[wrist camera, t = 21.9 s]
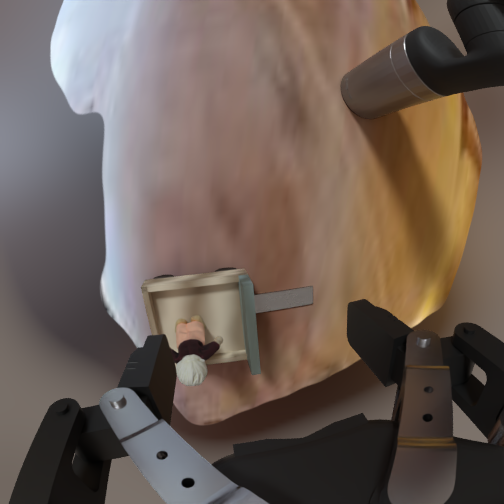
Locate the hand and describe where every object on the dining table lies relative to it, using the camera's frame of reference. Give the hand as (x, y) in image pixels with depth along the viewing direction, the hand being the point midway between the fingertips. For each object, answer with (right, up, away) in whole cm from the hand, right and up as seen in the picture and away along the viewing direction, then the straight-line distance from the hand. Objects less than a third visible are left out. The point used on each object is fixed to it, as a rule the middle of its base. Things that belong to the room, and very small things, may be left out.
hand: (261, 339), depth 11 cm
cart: (-8, -5, +30) cm, 32 cm away
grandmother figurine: (-9, -7, +26) cm, 29 cm away
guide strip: (-3, -5, +31) cm, 31 cm away
